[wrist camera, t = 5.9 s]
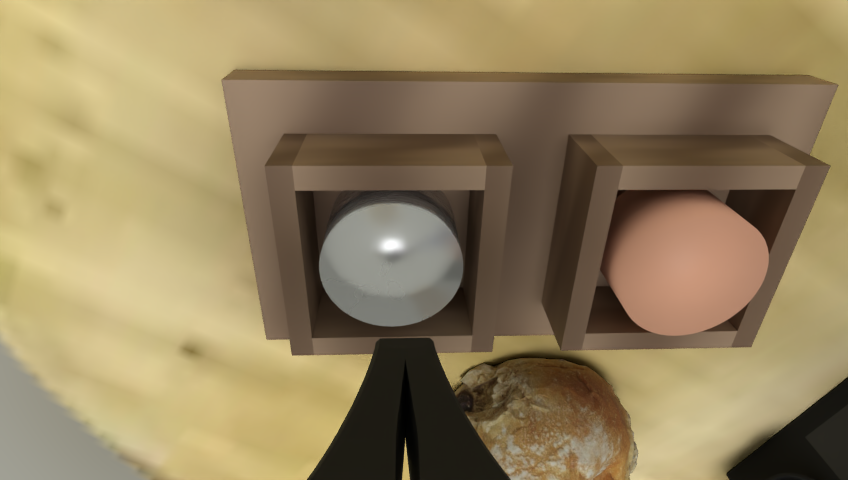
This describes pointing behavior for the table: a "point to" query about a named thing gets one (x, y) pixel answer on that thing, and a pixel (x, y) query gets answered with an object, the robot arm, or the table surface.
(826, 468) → the digital camera
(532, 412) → the bread roll
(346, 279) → the grey plunger
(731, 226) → the tan rounded piece
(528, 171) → the brown wooden tray
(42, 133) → the table surface
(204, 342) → the table surface
